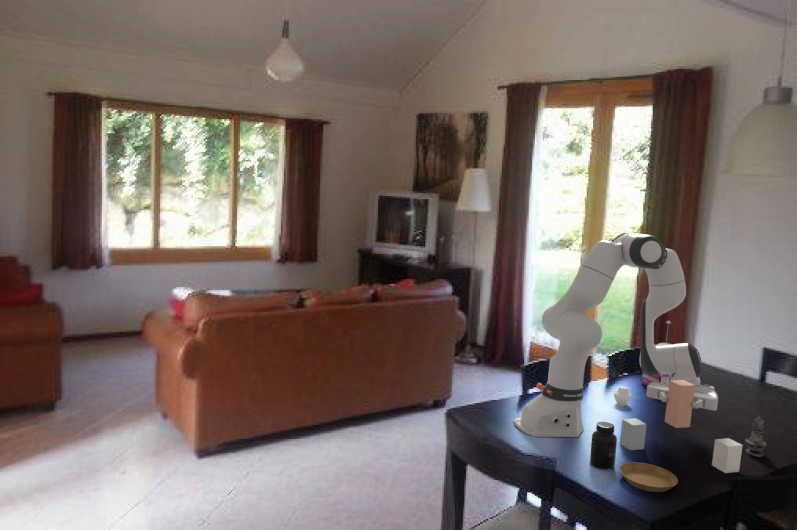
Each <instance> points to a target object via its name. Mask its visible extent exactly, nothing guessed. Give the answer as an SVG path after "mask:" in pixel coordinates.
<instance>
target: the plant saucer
mask: <svg viewBox="0 0 797 530" xmlns="http://www.w3.org/2000/svg"><path fill="white" fill-rule="evenodd" d="M619 472H620V474H621V475H622V477H623V479H625V480H626V482H627V483H629V484H630V485H631V486H633V487H634V488H637V489H639V490H642V491H645V492H652V493H663V492H667V491H669V490H670V489H673V487H675V486H676V485H677V484H678V482H679V480H678V478H677V476H676V475H675V473H672V472H671V471H669V470H668V469H665V468H663V467H660V466H657V465H654V464H650V463H645V462H626V463H623V464H621V465H620V467H619Z"/></svg>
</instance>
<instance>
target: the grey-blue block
mask: <svg viewBox="0 0 797 530" xmlns="http://www.w3.org/2000/svg"><path fill="white" fill-rule="evenodd" d="M646 432H647V423H646V422H643V421H642V420H640V419H638V418H637V417H633V418H622V420H621V429H620V436H619V445H621V446H623V447H624V448H626V449H627V450H629V451H635V450H636V451H637V450H638V451H639V450H644V448H645V442H646V441H645V440H646V434H647V433H646Z"/></svg>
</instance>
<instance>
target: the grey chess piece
mask: <svg viewBox="0 0 797 530" xmlns="http://www.w3.org/2000/svg"><path fill="white" fill-rule="evenodd" d="M764 424H765V421H764V419H762V418H761V416H760V415H759V416H758V417H757V418H754V419H753V422H752V428H750V430H751V434H750V437H748V438H745V439H744V441H745V445H746V446H747V448H746V449H744V452H745V453H746V454H747V455H749V456H752V457H753V456H754V457H761V458H762V457H764V456H765V453H764V452H763V451H764V450H765V449H766V446H767V445H768V444H767V443H766V442H765V440H764V441H763V435H764V433H765V430H764V428H765V427H764V426H765V425H764Z"/></svg>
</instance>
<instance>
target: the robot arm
mask: <svg viewBox="0 0 797 530" xmlns="http://www.w3.org/2000/svg"><path fill="white" fill-rule="evenodd" d="M623 266H628V267H630V268H640V269H641V268H642V269H644V271H645V274H646V276H647V283H648V294H647V297H646V298H645V299H644V300H643V301H642V304H641V308H640V352H639V353H640V354H639V366H640V368H641V370H642V371H644V372H645V373H646V374H648V375H650V376H658V375H662V374H673V375H672V377H673V378H672V380H684V381H687V382H689V383H691V384H693V385H695V391H694V399H693V405H692V409H695V410H696V409H697V410H698V409H700V408H701V409H705V410H709V411H717V410H718V405H719V404H718V403H719V396H718V392H716V391H715V387H714V386H713V385H709V384H707V383H703V382H701V379H700V376H701V374H702V371H703V364H702V358H701V354H700V352H699V350H698V348H696V347H695V346H694V345H693V344H692V343H690V342H682V343H680V342H679V343H674V344H671V345H660V346H657V344H655V342H654V341H655V337H654V336H655V335H654V334H655V329H654V328H655V325H654V324H655V321H656V319H658V317H660V316H662V315H664V314H665V313H668V312H669V311H672V310H673V309H675V308H676V307H678V306H679V305H681V304H682V303H683V302H684V300H685V298H686V296H687V286H686V280H685V279H686V278H685V273H684V270H683V267H682V264H681V261H680V258H679V256H678V254H677V252H676V251H675V250H673V249H671V248H667V247H665V246H664V245H663V243H662V241H661V240H660V239H659V238H657V237H656V236H655V235H651V234H649V233H648V234H646V233H645V234H644V233H641V232H630V233H629V232H624V233H621V234H618V235H617V236H615V237H614V238H613V239H611V240H607V239H606V240H605V239H601V240H599V241H597V242H596V243H595V244H594V245H593V246H592V247H591V249H590V250H589V251H588V253H587V254H586V256H585V258H584V260H583V262H581V265H580V268H579V269H578V271H577V273H576V274H575V275H576V276H574V277H575V278H574V279H573V281H572V283H571V284H570V286H569V288H568V289H567V291H565V293H563V295H562V296H561V298H560V299H559V300H558V301H557V302H556V303H555V304H553V305H552V306H549V307H548V308H547V309H545V310H544V312H542V313H543V314H542V316H541V325H542V327H543V329H544V330H545V331H546V332H547V334H549V335H550V337H552V338H554V339H556V340H558V341H559V344H558V345H559V346H558V348H557V351H556V353H555V355H552V357H551V358H550V359H549V366H548V374H547V375H548V377H547V382H546V383H545V385H544V384H542V383H541V382H537V384H536V388H537V390H540V391H541V393H540V394H539V395H538V396H536V397H534V398H533V399H532V400H531V401H529V402H528V403H527V404H525V405H524V407H523V408H522V413H521V417H515V418H514V421H513V423H514V425H515V427H517V428H518V429H519V430H520V431H522V432H524V433H525V434H527V435H529V436H532V437H535V438H579V437H580V434H581V433H582V432H583V431H584V429H585V428H584V424H583V417H582V416H583V415H582V401H583V398H584V377H585V367H586V364H587V360H588V358H589V355H590V353H591V352H592V350H594V349H595V348H596V347H598V345H599V344H600V342H601V341H602V337H603V330H602V327H601V325H600V324H599V323H598V322H597V321H596V320H595V319H594V318H592V317H591V316H590V315H588V313H589V312H590V311H592V309H593V308H595V307H597V306H598V305H600V304H602V303H603V302H604V301H605V298H606V297H607V295H608V293H609V290H610V289H611V286H612V284H613V283H614V280H615V279H616V276H617V273H618V272H619V270H620V269H621V268H622V267H623ZM668 390H669V384H664V383H659V382H652V383H650V384H649V385H648V386H646V393H645V394H646V395H645V396H646V397H648V398H650V399H655V400H660V401H661V402H662V403H666V404H667V398H668Z"/></svg>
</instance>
